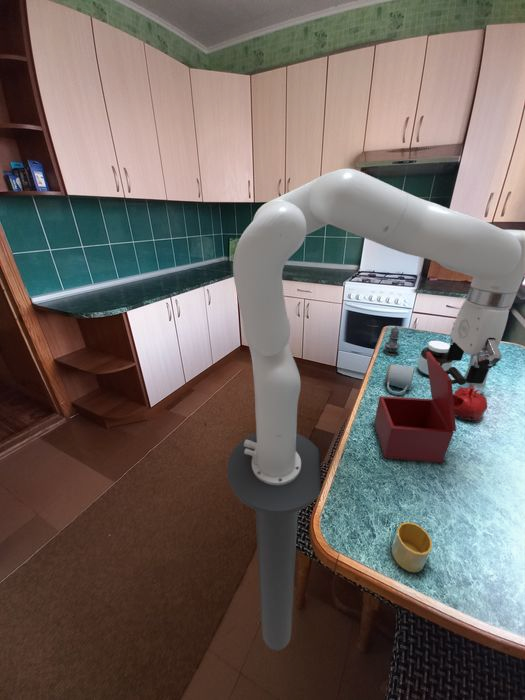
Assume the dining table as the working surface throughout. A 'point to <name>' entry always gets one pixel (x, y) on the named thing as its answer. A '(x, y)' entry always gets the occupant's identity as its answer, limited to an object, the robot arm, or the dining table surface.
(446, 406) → the lid
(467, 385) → the plastic bottle
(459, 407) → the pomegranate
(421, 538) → the cup
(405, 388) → the ceramic mug
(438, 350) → the spread jar
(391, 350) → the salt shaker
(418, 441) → the red lidded box
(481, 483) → the dining table surface
